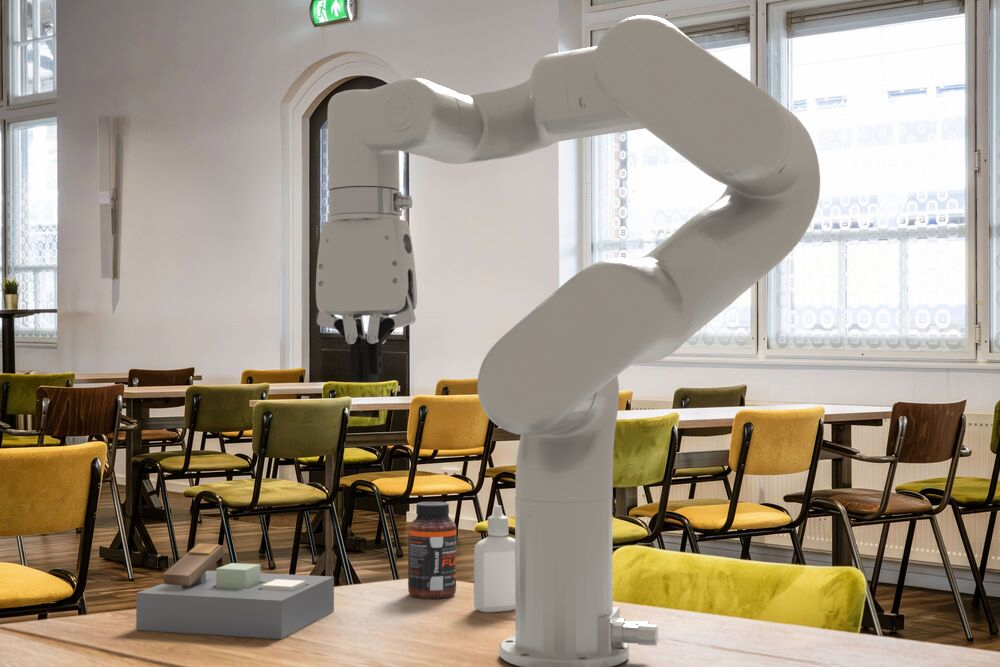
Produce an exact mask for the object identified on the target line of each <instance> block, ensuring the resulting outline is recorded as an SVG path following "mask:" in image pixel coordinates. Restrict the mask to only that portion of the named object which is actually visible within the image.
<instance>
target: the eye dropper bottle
mask: <svg viewBox="0 0 1000 667" xmlns="http://www.w3.org/2000/svg"><path fill="white" fill-rule="evenodd" d="M487 535H488V536H487V537H485V538H483V539H481V540H479V541H477V543H476V544H475V545H474V549H473V550H474V551H473V607H474V609H475V610H476V611H480V612H482V613H501V612H503V611H504V612H509V611H515V537H514V538H513V537H511V536H508V535H509V517H508V516H506V515H504V513H503V508H502V505H496V504H495V505H494V510H493V513H492V514H491V515H489V516H488V517H487Z"/></svg>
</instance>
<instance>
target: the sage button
mask: <svg viewBox="0 0 1000 667" xmlns="http://www.w3.org/2000/svg"><path fill="white" fill-rule="evenodd" d="M215 571H216V588H236V589H249V588H251V587H254V586H256V585H259V584H261V573H262V572H261V564H260V563H259V564H258V563H257V564H256V563H240V562H239V563H236V562H231V563H228V564H224V565H222V566H219V567H217V568H216V569H215Z"/></svg>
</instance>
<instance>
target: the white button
mask: <svg viewBox="0 0 1000 667" xmlns="http://www.w3.org/2000/svg"><path fill="white" fill-rule="evenodd" d="M305 586H306V581H302V580H282V579H275V580H273V581H271V582H268V583H266V584H263V585H262V590H274V591H293V592H294V591H296V590H299V589H301V588H303V587H305Z"/></svg>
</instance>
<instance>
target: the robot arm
mask: <svg viewBox="0 0 1000 667" xmlns="http://www.w3.org/2000/svg"><path fill="white" fill-rule="evenodd" d="M644 129H645V130H647V131H648V132H650V133H651V134H652V135H654V136H655V137H656V138H658V139H659V140H660V141H662V142H663V143H664V144H666V145H668V147H670V148H671V149H673V150H674V151H675V152H676V153H678V154H679V155H680V156H681V157H683V158H684V159H685V160H687V161H688V162H690V164H691V165H694V166H695V167H696V168H697V169H699V171H701V172H703V173H704V174H706V175H707V176H708V177H710V178H712V179H713V180H715V181H717V182H718V183H722V184H723V185H725V186H726V188H725V190H724V191H723V193H722V194H721V196H720V197H718V199H717V200H716V201H715V202H713V203H712V204H711V205H709V206H707V207H706V208H705V209H703V210H702V211H700V212H698V213H697V214H696V215H694V216H693V217H691V218H690V219H688V220H687V221H685V223H683V224H682V225H681V226H680V227H679V228H678V229H677V230H676V231H675V232H674V233H673V234H671V235H670V236H669V237H668V238H667V239H665V240H664V241H662V242H661V243H660V244H659V245H658V246H656V247H655V248H654V249H653V250H651V251H650V252H649V253H646V255H644V256H643V257H640V258H638V259H634V258H628V257H627V258H626V257H613V258H608V259H603V260H601V261H598V262H595V263H593V264H591V265H589V266H587V267H585V268H584V269H581V271H579V272H577V273H576V274H574V276H572V277H571V278H569V279H568V280H567V281H566V282H564V283H563V284H562V285H560V287H558V288H557V289H556V290H555V291H553V293H551V294H550V295H549V296H548V297H547V298H546V299H544V300H543V301H542V302H541V303H539V305H537V306H536V307H534V309H532V310H531V311H529V313H528V314H527V315H526V316H524V317H523V318H522V319H521V320H520V321H519V322H518V323H516V324H515V325H514V326H513V327H511V328H510V329H509V330H508V331H507V332H506V333H504V335H502V337H500V338H499V339H498V340H497V341H496V342H495V343H494V344H493V346H492V347H491V348H490V349H489V351H488V352H487V353H486V355H485V356H484V358H483V361H482V362H481V365H480V368H479V372H478V375H477V376H478V377H477V382H476V383H477V385H476V387H477V396H478V400H479V403H480V405H481V408H482V410H483V411H484V413H485V415H486V416H487V417H488V419H489V420H490V421H492V423H493V424H495V425H496V426H497V427H499V428H500V429H502V430H504V431H506V432H509V433H512V434H515V435H520V438H519V444H518V448H517V449H518V450H517V455H516V463H515V496H514V500H515V501H514V506H515V507H514V508H515V510H514V514H515V515H514V518H515V519H514V520H515V521H514V522H515V523H514V524H515V525H514V526H515V527H514V528H515V529H514V531H515V533H514V534H515V535H514V536H515V537H514V539H515V610H514V611H515V616H514V617H515V635H512V636H510V637H507V638H505V639H504V640H502V642H501V643H499V656H500V658H501V659H502V660H504V662H506V663H508V664H510V665H513V666H515V667H616V666H618V665H620V664H623V663H625V662H626V661H627V660H628V659H629V656H630V652H629V651H630V650H629V649H630V647H629V644H636V645H638V646H654V647H657V646H658V641H659V627H658V626H659V625H657V624H650V623H649V621H638V620H636V621H626V620H625V618H624V617H622V618H621V617H620V615H621V613H620V612H621V610H620V609H621V608H620V606H614V605H613V602H614V600H613V598H614V596H613V593H614V592H613V590H614V589H613V586H614V584H613V577H614V576H613V574H614V573H613V568H614V567H613V565H614V563H613V560H614V559H613V495H614V493H613V491H614V490H613V488H614V487H613V483H614V481H613V480H614V478H613V477H614V474H613V473H614V472H613V471H614V468H613V467H614V445H615V444H614V443H615V433H616V427H617V419H618V411H619V403H620V402H619V400H620V386H619V377H618V376H619V375H620V374H621V373H622V372H623V371H625V370H626V369H627V368H629V367H630V366H631V365H633V364H646V363H647V364H648V363H653V362H656V361H661V360H663V359H665V358H667V357H669V356H670V355H673V353H674V352H676V351H677V350H679V348H680V347H681V346H683V345H684V344H685V343H686V342H687V341H688V340H690V339H691V338H692V336H694V335H695V334H696V333H698V332H699V331H700V330H701V329H702V328H703V327H706V325H707V324H708V323H710V322H711V321H712V320H713V319H714V318H716V317H717V316H719V315H720V313H722V312H723V311H724V310H725V309H727V308H728V307H730V306H731V305H732V304H733V303H735V301H736V300H737V299H738V298H739V297H741V296H742V294H745V292H747V291H748V290H749V289H750V288H752V286H754V285H755V284H756V283H758V282H759V281H760V280H761V279H762V278H763V277H765V276H766V275H767V274H769V273H770V272H771V271H772V270H773V269H775V267H777V266H778V265H779V264H780V263H781V262H782V261H783V260H784V259H785V258H787V256H789V254H790V253H791V252H792V251H794V249H795V247H796V246H797V245H798V244H799V242H801V240H802V238H803V237H804V235H805V234H806V232H807V230H808V229H809V227H810V224H811V223H812V221H813V218H814V216H815V212H816V210H817V206H818V203H819V200H820V193H821V192H820V191H821V174H820V173H821V172H820V164H819V158H818V154H817V151H816V147H815V144H814V141H813V140H812V138H811V137H812V136H811V135H810V134H809V132H808V131H809V130H807V128H806V126H804V124H803V123H802V122H801V120H800V119H799V118H798V117H797V116H796V115H795V114H794V113H792V112H791V111H790V110H789V109H788V108H786V107H785V106H783V105H782V103H780V102H779V101H778V100H777V99H775V98H774V97H773V96H772V95H770V94H769V93H767V92H766V91H765V90H763V89H762V88H761V87H759V86H758V85H757V84H755V83H753V82H752V81H750V79H748V78H746V77H745V76H743V75H742V74H741V73H739V72H737V70H735V69H734V68H732V67H730V66H729V65H727V64H726V63H725V62H723V61H722V60H721V59H719V58H718V57H716V56H715V55H713V54H712V53H710V52H709V51H708V50H706V49H704V48H703V47H702V46H701V45H699V44H698V43H697V42H695V41H694V40H693V39H691V38H690V37H689V36H687V35H686V34H685V33H684V32H683V31H681V30H680V29H679V28H678V27H677V26H676V25H674V24H673V23H671V22H669V21H668V20H666V19H664V18H661V17H658V16H654V15H648V14H647V15H636V16H631V17H627V18H625V19H623V20H621V21H619V22H617V23H616V24H614V25H612V26H611V27H610V28H609V29H608V30H607V31H606V32H604V34H603V35H602V36H601V37H600V39H599V41H598V44H597V45H595V46H590V47H585V48H578V49H573V50H567V51H562V52H555V53H549V54H546V55H543V56H541V57H540V58H539V59H538V60H536V62H535V64H534V65H533V67H532V71H531V74H530V77H529V78H528V79H527V80H526V81H524V82H521V83H519V84H517V85H514V86H511V87H507V88H503V89H497V90H491V91H485V92H479V93H478V92H477V93H472V94H461V93H458V92H457V91H454V90H452V89H450V88H447V87H445V86H443V85H440V84H436V83H435V82H432V81H430V80H428V79H424V78H421V77H420V78H419V77H409V78H402V79H398V80H396V81H392V82H388V83H387V84H384V85H380V86H377V87H375V88H374V87H373V88H371V89H366V88H365V89H360V88H359V89H349V90H343V91H340V92H338V93H335V94H334V95H332V96H331V98H330V100H329V101H328V104H327V172H328V173H327V176H328V179H327V180H328V182H327V183H328V221H324V222H323V225H322V228H321V233H320V237H319V238H320V239H319V244H318V250H317V260H316V261H317V262H316V278H315V279H316V280H315V300H316V307H317V309H318V313H317V319H316V324H317V325H318V326H320V327H322V328H323V327H324V328H329V329H332V330H336V331H337V332H338V333H339V334H340V335H341V336H342V337H343V338H344V339H345V342H346V343H347V344H348V345H350V349H349V350H350V352H349V353H350V373H351V375H353V377H354V379H353V380H354V382H355V383H377V382H379V379H380V375H381V374H382V373H383V345H384V344H385V343H386V341H387V340H388V338H389V337H390V336H391V335H392V333H393V332H394V331H395V330H396V329H400V328H403V327H406V326H409V325H413V324H415V322H416V315H415V310H416V308H417V305H418V285H417V273H416V265H415V264H416V263H415V255H414V254H415V253H414V248H413V241H412V235H411V230H410V227H409V226H410V225H409V222H408V221H407V220H403V219H401V217H402V216H403V214H402V213H403V211H405V210H408V209H412V207H413V199H412V196H411V195H404V194H402V191H401V190H400V152H405V153H407V154H411V155H416V156H421V157H426V158H428V159H430V160H431V159H432V160H433V161H437V162H439V163H444V164H452V165H453V164H455V165H460V164H462V165H464V164H471V163H478V162H480V163H481V162H487V161H494V160H502V159H508V158H513V157H518V156H522V155H526V154H529V153H532V152H535V151H538V150H541V149H544V148H547V147H550V146H552V145H554V144H556V143H558V142H563V141H570V140H577V139H581V138H583V139H584V138H589V137H590V138H591V137H597V136H602V135H608V134H615V133H622V132H623V133H624V132H629V131H636V130H644ZM336 315H338V316H342V318H340V317H336ZM365 316H369V317H368V325H367V334H366V332H365V331H366V330H365V326H364V319H363V317H365ZM365 334H366V335H365Z"/></svg>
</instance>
